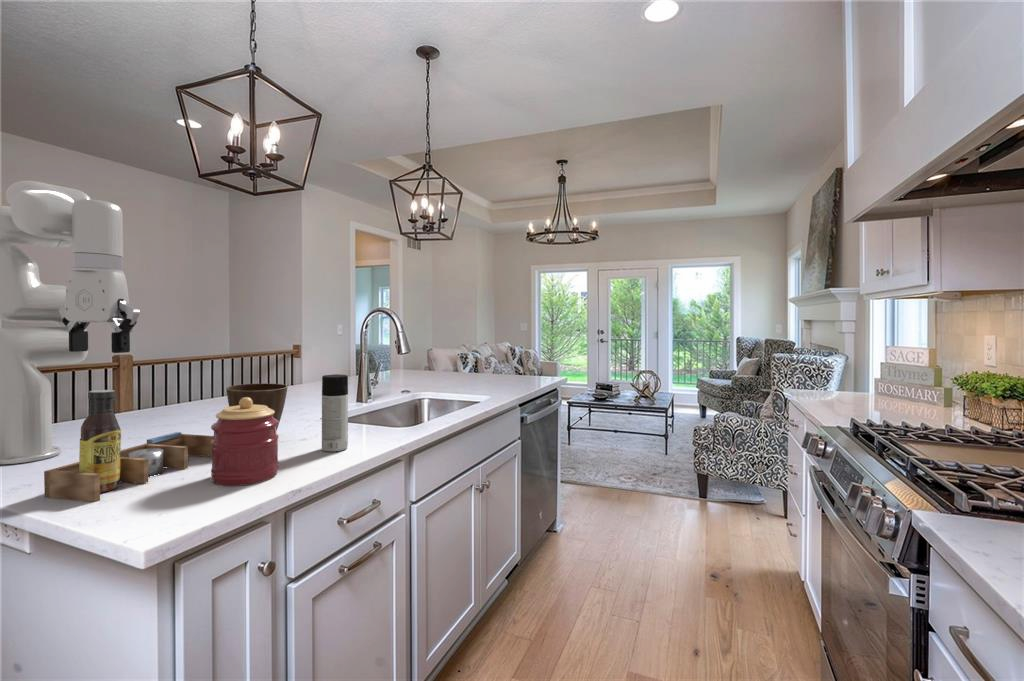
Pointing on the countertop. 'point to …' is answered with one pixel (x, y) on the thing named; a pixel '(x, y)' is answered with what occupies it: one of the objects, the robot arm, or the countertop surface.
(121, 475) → the caddy
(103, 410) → the sauce bottle
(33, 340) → the robot arm
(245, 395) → the plant pot
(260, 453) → the canister
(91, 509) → the countertop surface
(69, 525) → the countertop surface
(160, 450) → the tin
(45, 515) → the countertop surface
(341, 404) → the spray can
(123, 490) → the countertop surface
